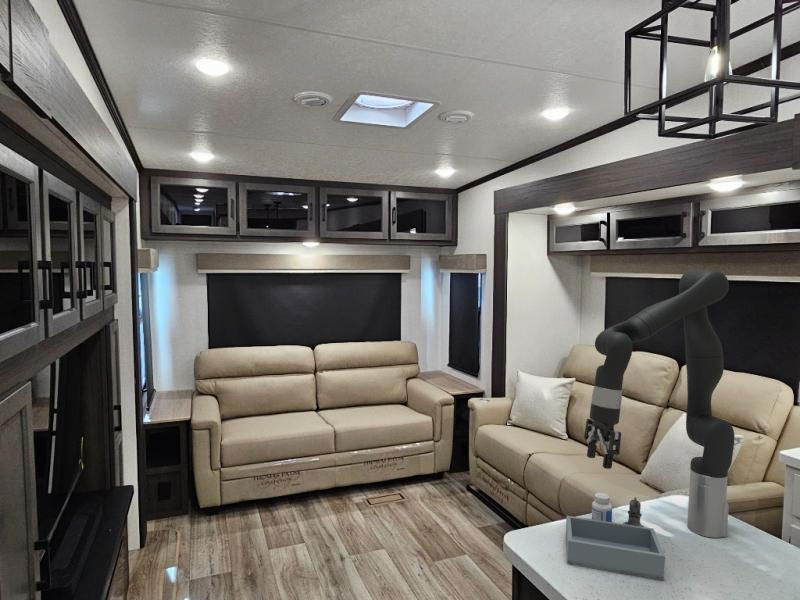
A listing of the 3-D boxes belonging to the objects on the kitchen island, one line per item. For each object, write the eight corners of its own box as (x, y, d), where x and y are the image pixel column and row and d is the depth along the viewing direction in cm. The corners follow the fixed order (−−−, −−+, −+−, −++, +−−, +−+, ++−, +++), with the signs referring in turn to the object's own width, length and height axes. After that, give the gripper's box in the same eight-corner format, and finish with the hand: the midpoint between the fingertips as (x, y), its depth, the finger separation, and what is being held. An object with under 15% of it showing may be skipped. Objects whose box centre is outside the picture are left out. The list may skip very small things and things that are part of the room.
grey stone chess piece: (643, 536, 142) (645, 494, 142) (646, 546, 137) (648, 503, 136) (620, 532, 144) (622, 491, 144) (622, 542, 139) (624, 499, 138)
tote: (652, 550, 135) (653, 528, 135) (663, 580, 122) (665, 556, 121) (565, 536, 141) (566, 515, 141) (567, 563, 128) (568, 540, 127)
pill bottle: (608, 524, 148) (609, 492, 148) (614, 534, 143) (615, 500, 143) (588, 523, 149) (590, 491, 148) (594, 532, 144) (595, 499, 143)
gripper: (633, 411, 132) (626, 473, 132) (604, 399, 146) (598, 455, 146) (606, 409, 131) (599, 471, 131) (580, 397, 145) (573, 453, 145)
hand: (598, 462), depth 139 cm, fingers open, 8 cm apart
